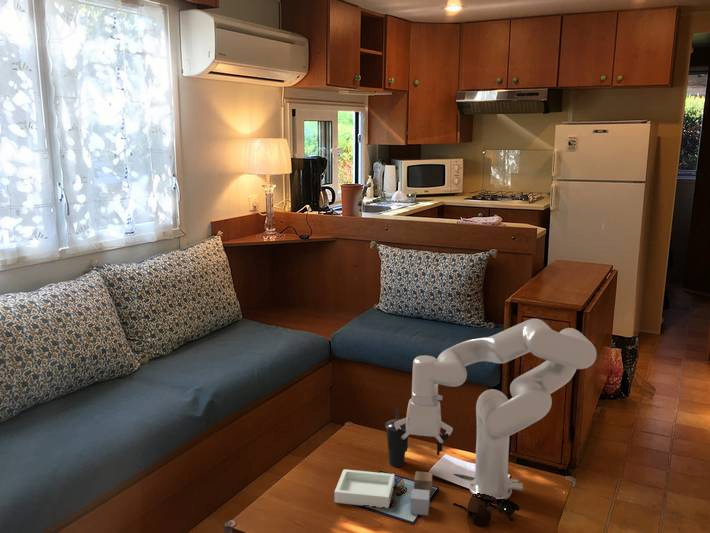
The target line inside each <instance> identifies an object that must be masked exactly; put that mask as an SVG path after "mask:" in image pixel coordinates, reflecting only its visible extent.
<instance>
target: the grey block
mask: <svg viewBox="0 0 710 533" xmlns="http://www.w3.org/2000/svg"><path fill="white" fill-rule="evenodd" d="M430 497H431V496H430V490H420V489H414V488H412V489H411V494H410V510H409V511H410V512H409V513H416V514H415V515H418V514H419V515H421V516H429V512H430ZM419 515H418V516H419Z"/></svg>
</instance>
